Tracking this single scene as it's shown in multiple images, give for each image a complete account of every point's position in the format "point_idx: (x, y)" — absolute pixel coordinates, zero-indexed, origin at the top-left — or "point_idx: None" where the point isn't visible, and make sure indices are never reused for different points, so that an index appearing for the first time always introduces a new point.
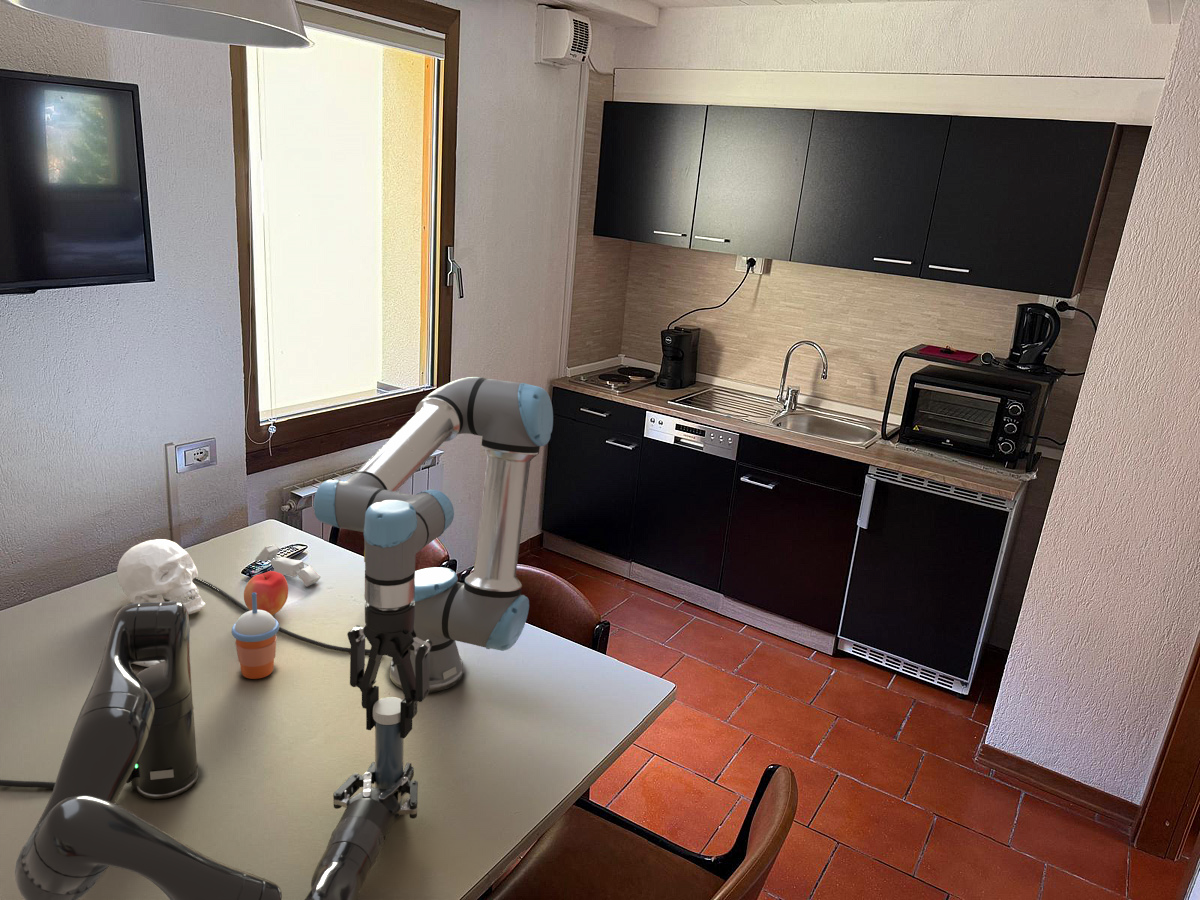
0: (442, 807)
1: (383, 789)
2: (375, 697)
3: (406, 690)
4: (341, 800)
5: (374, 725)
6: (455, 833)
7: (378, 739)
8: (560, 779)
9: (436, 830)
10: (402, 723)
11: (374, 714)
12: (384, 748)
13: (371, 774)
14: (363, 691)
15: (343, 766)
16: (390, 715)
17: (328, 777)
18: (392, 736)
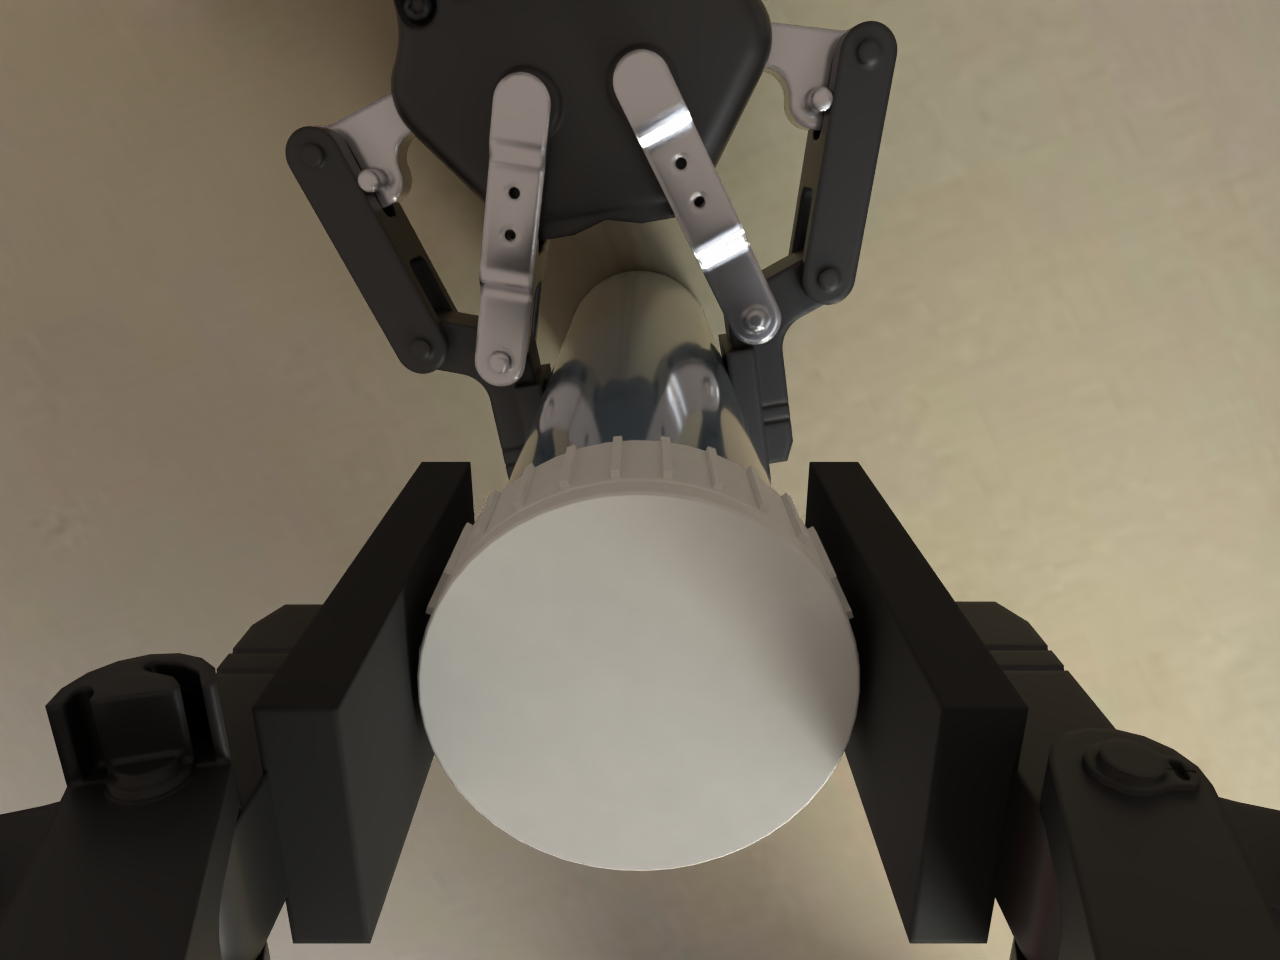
0: (399, 442)
1: (584, 223)
2: (884, 761)
3: (85, 941)
4: (817, 34)
5: None
6: (244, 298)
7: (690, 402)
8: (5, 775)
9: (341, 285)
10: (405, 534)
11: (777, 515)
12: (620, 374)
13: (730, 325)
14: (1107, 742)
15: (999, 540)
16: (517, 523)
17: (1039, 446)
18: (544, 442)
